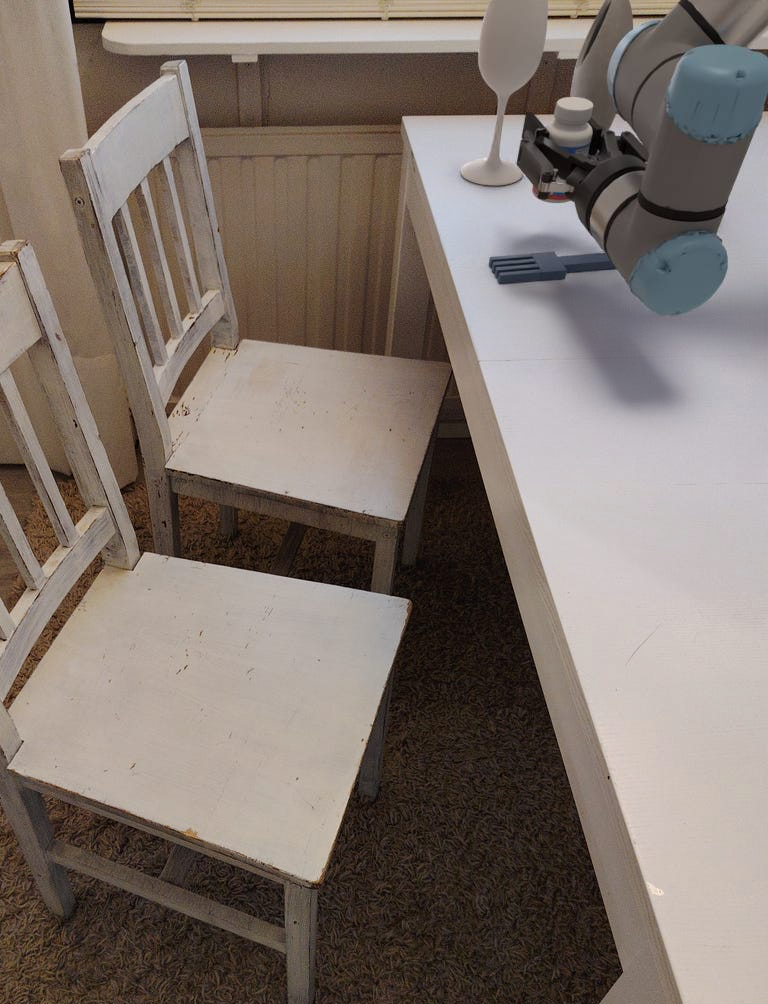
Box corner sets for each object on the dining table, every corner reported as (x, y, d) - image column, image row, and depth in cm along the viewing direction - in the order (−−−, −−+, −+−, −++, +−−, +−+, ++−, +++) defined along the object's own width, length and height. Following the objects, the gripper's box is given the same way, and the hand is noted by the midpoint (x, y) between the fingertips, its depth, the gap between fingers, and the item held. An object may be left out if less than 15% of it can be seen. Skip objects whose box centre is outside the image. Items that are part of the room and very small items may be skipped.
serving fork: (647, 251, 101) (650, 243, 100) (663, 270, 98) (666, 261, 97) (488, 264, 100) (489, 256, 99) (499, 284, 97) (500, 275, 96)
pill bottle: (522, 195, 99) (539, 102, 91) (549, 181, 101) (568, 90, 94) (559, 209, 96) (580, 115, 89) (586, 194, 98) (609, 102, 91)
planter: (561, 126, 126) (593, -28, 112) (609, 129, 125) (648, -26, 110) (553, 175, 115) (587, 12, 101) (605, 179, 114) (648, 14, 99)
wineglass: (508, 157, 119) (539, -24, 103) (532, 182, 114) (568, -5, 98) (452, 164, 118) (473, -18, 102) (473, 189, 113) (499, 1, 97)
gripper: (528, 252, 85) (471, 162, 100) (699, 239, 86) (617, 152, 101) (544, 175, 79) (480, 92, 94) (727, 162, 80) (636, 81, 95)
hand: (552, 123), depth 97 cm, fingers closed on pill bottle, 5 cm apart
